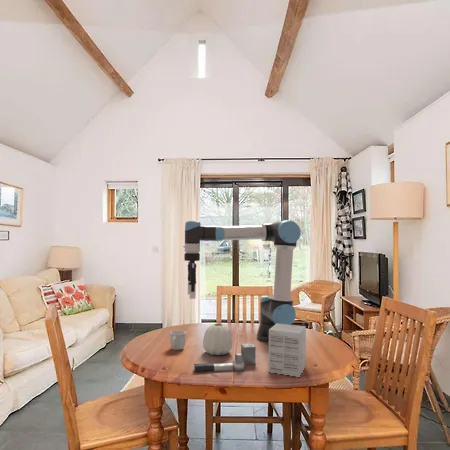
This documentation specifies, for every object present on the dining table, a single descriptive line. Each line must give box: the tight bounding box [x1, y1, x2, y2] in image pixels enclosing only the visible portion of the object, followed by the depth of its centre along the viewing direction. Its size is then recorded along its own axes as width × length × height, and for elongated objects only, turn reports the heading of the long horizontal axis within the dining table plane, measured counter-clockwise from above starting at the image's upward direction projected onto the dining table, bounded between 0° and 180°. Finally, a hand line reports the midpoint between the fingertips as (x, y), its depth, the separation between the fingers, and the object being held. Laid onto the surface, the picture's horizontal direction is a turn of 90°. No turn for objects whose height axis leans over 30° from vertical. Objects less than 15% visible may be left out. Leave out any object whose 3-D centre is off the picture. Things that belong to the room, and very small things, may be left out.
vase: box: [202, 323, 233, 356], centre depth 170 cm, size 14×14×13 cm
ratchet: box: [193, 352, 245, 373], centre depth 147 cm, size 21×5×6 cm, turn 101°
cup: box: [169, 329, 187, 351], centre depth 174 cm, size 11×8×8 cm
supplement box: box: [267, 323, 307, 378], centre depth 149 cm, size 13×13×18 cm
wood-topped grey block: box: [240, 342, 257, 366], centre depth 157 cm, size 5×5×8 cm
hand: (191, 296), depth 173 cm, fingers open, 13 cm apart
